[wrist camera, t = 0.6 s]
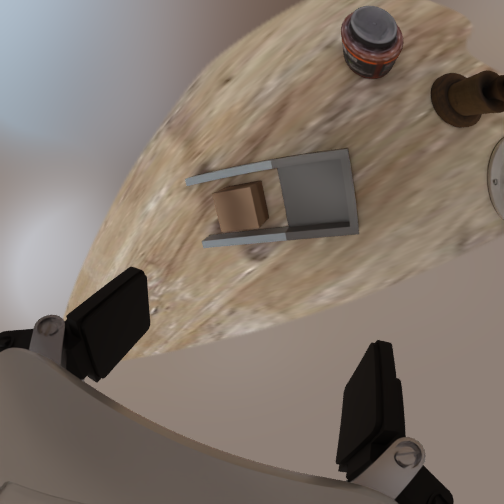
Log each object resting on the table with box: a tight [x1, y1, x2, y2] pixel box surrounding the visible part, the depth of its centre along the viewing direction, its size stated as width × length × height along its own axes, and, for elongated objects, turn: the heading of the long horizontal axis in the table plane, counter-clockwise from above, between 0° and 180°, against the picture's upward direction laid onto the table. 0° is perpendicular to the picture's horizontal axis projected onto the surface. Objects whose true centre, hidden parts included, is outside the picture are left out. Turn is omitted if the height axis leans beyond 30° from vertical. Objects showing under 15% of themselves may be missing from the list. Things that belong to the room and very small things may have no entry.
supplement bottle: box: [341, 6, 403, 78], centre depth 20 cm, size 6×6×11 cm
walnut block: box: [212, 181, 269, 232], centre depth 35 cm, size 5×5×4 cm
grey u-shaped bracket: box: [185, 148, 359, 248], centre depth 35 cm, size 21×10×2 cm, turn 103°
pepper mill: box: [431, 71, 504, 127], centre depth 15 cm, size 7×6×18 cm
